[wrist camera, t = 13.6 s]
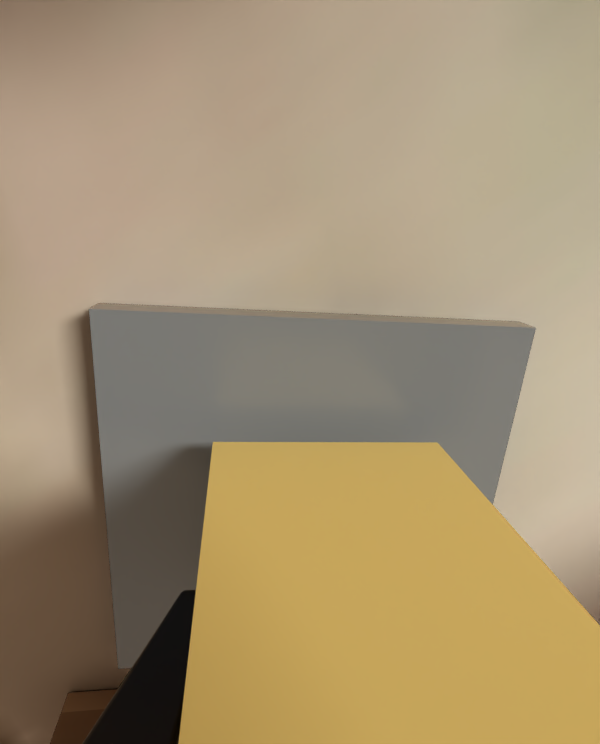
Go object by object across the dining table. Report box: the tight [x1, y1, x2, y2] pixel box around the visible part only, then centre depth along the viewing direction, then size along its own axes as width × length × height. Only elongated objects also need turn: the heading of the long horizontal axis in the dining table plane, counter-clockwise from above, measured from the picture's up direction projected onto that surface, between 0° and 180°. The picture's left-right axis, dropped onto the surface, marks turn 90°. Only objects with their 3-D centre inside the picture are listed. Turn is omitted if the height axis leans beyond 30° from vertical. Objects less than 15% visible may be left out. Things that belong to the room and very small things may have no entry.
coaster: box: [89, 303, 536, 669], centre depth 11 cm, size 9×9×1 cm
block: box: [178, 442, 600, 744], centre depth 7 cm, size 4×4×6 cm
